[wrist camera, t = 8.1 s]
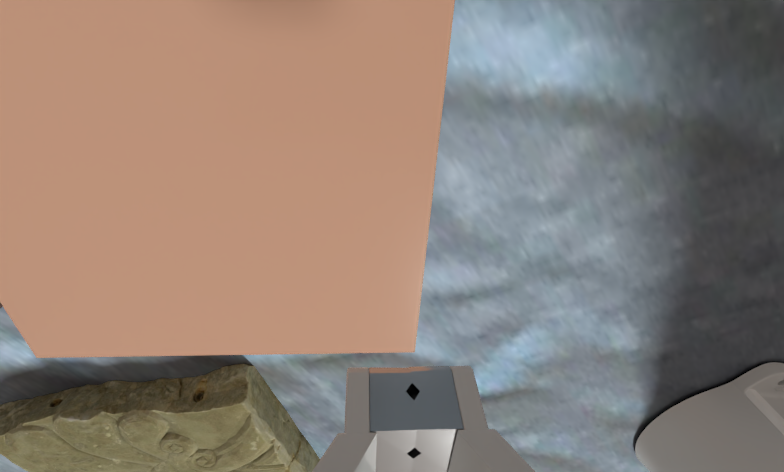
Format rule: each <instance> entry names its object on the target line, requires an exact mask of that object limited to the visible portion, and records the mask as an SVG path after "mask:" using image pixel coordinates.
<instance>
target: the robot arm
mask: <svg viewBox="0 0 784 472" xmlns="http://www.w3.org/2000/svg"><path fill="white" fill-rule="evenodd" d="M635 453H636V456H637V458H638V459H639V461H640V462H641V463H642V464H643V465H644V466H645V467H646V468H647V469H648V470H649V471H650V472H784V363H777V362H771V363H766V364H763V365H761V366H758V367H756V368H754V369H752V370H750V371H749V372H747V373H745V374H743V375H742V376H740V377H738V378H737V379H735V380H733V381H732V382H729V383H727V384H725V385H722V386H720V387H717V388H714V389H711V390H708V391H705V392H703V393H700V394H698V395H695V396H693V397H691V398H689V399H686V400H684V401H682V402H680V403H679V404H677V405H675V406H673V407H672V408H670V409H668V410H667V411H665V412H664V413H662V414H661V415H660V416H658V417H657V418H656V419H655V420H653V421H652V422H651V423H650V424H649V425H648V426H647V427H646V428H645V429H644V430H643V432H642V433H641V435H640V436H639V438H638V440H637V442H636V446H635ZM312 472H535V471H534V470H533V469H532V468H531V467H530V466H529V465H528V464H527V462H526V461H525V460H524V459H523V458H522V457H521V456H520V455H519V454H518V453H517V452H516V451H515V450H514V449H513V448H512V447H511V446H510V445H509V444H508V442H507V441H506V440H505V439H504V438H503V437H502V436H501V435H500V434H499V433H498V432H497V431H496V430H495V429H488V425H487V422H486V418H485V414H484V410H483V406H482V403H481V399H480V395H479V391H478V388H477V384H476V380H475V376H474V372H473V369H472V368H471V367H470V366H450V367H449V366H426V367H409V368H348V370H347V382H346V407H345V433H339V434H337V436H336V437H335V439H334V440H333V442H332V443H331V445H330V446H329V448H328V449H327V451H326V452H325V453H324V455H323V456H322V458H321V459H320V461H319V462H318V464H317V465H316V467H315V468H314V470H313V471H312Z"/></svg>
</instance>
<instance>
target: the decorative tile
mask: <svg viewBox="0 0 784 472" xmlns="http://www.w3.org/2000/svg"><path fill="white" fill-rule="evenodd" d="M0 454H2V455H3V456H5V457H6V458H7V459H9V460H10V461H11V462H12V463H14V464H16V465H18V466H19V467H21V468H23V469H24V470H26V471H28V472H312V471H313V470H314V468H315V467H316V465H317V464H318V462H319V461H320V459H319V457H318V456H317V454H316V453H315V451H314V450H313V448H312V447H311V445H310V444H309V443H308V441H307V440H306V439H305V437H304V436H303V435H302V433H301V432H300V431H299V429H298V428H297V426H296V425H295V423H294V422H293V420H292V418H291V417H290V415H289V414H288V412H287V411H286V410H285V408H284V407H283V406H282V404H281V403H280V402H279V400H278V399H277V398H276V396H275V395H274V394H273V392H272V391H271V389H270V387H269V386H268V385H267V383H266V382H265V381H264V379H263V378H262V376H261V375H260V374H259V372H258V371H257V370H256V368H255V367H254V366H251V365H247V364H239V365H231V366H225V367H222V368H221V369H217V370H215V371H212V372H210V373H208V374H206V375H203V376H196V377H186V378H175V379H166V378H160V379H156V380H154V381H148V382H126V381H118V380H113V381H108V382H106V383H103V384H101V385H88V384H87V385H85V386H83V387H76V388H70V389H68V390H64V391H61V392H58V393H54V394H48V395H44V396H37V397H34V398H33V399H25V400H17V401H15V402H8V403H5V404H2V405H0Z"/></svg>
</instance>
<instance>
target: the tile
mask: <svg viewBox="0 0 784 472" xmlns="http://www.w3.org/2000/svg"><path fill="white" fill-rule="evenodd" d="M454 3H455V0H0V303H1V304H2V306H3V307H4V309H5V310H6V312H7V313H8V315H9V316H10V318H11V319H12V321H13V322H14V324H15V326H16V327H17V329H18V330H19V332H20V333H21V335H22V336H23V338H24V339H25V341H26V342H27V344H28V345H29V347H30V348H31V350H32V351H33V353H34V355H35V356H36V358H56V357H124V356H191V355H259V354H327V353H395V352H415V345H416V336H417V327H418V319H419V310H420V301H421V292H422V283H423V275H424V266H425V257H426V248H427V240H428V231H429V222H430V213H431V204H432V196H433V187H434V178H435V169H436V161H437V152H438V143H439V134H440V125H441V117H442V108H443V99H444V90H445V82H446V73H447V64H448V55H449V46H450V38H451V29H452V20H453V11H454Z"/></svg>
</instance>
